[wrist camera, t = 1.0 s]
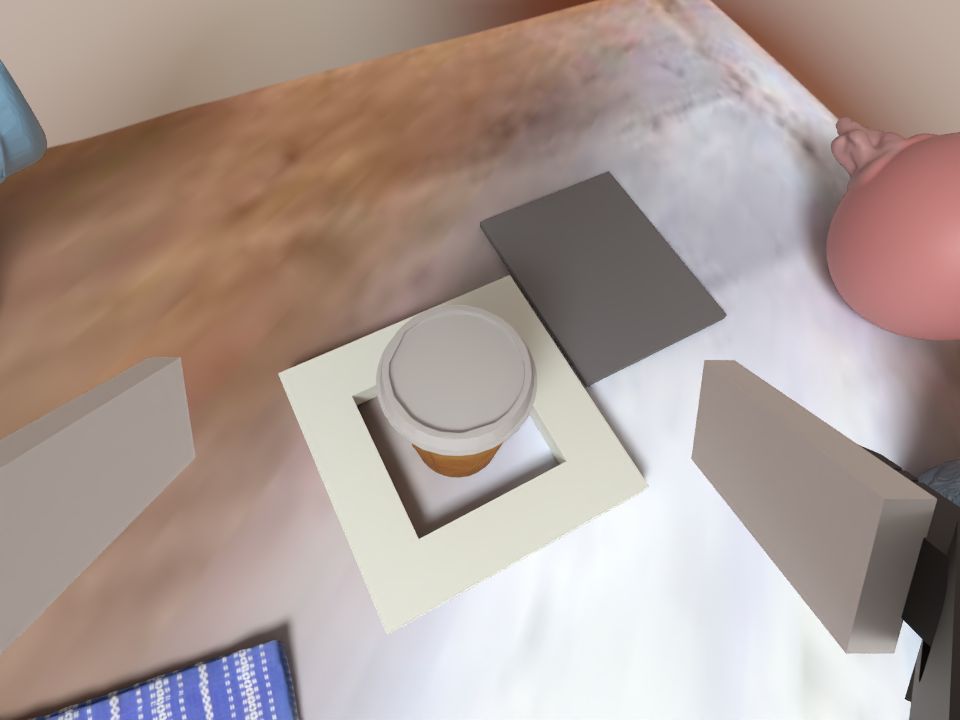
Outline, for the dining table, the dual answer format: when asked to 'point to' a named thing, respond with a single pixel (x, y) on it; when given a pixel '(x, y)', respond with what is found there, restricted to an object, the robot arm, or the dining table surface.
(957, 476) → the canister
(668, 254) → the rubber mat
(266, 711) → the dish towel
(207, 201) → the dining table surface
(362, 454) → the holder board
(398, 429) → the disposable coffee cup
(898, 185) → the balloon
